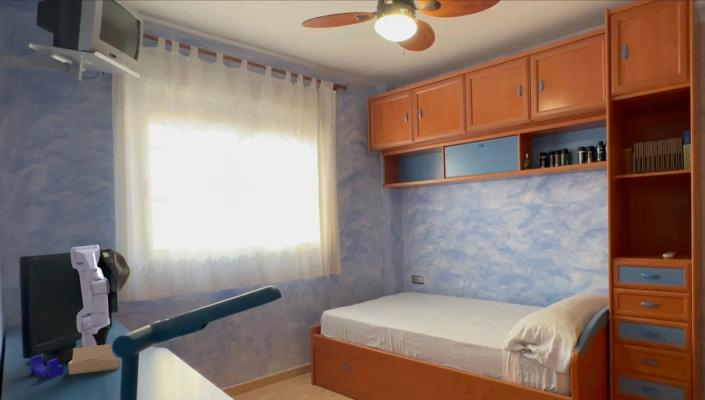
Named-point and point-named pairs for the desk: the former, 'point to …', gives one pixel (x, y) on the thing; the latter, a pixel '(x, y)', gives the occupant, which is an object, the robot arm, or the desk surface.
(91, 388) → the desk surface
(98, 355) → the carton flap
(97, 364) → the carton
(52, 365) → the cable clip
